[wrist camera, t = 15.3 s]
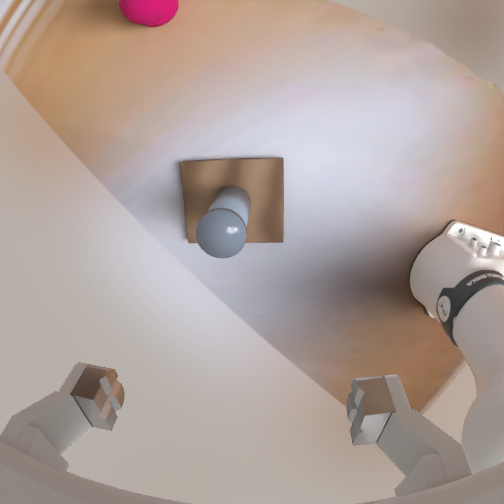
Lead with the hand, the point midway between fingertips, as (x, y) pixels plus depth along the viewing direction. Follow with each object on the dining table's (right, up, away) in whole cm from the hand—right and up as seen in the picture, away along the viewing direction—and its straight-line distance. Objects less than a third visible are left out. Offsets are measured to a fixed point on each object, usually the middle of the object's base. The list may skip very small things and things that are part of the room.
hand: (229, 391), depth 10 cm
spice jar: (-2, +11, +34) cm, 36 cm away
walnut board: (-2, +12, +35) cm, 38 cm away
